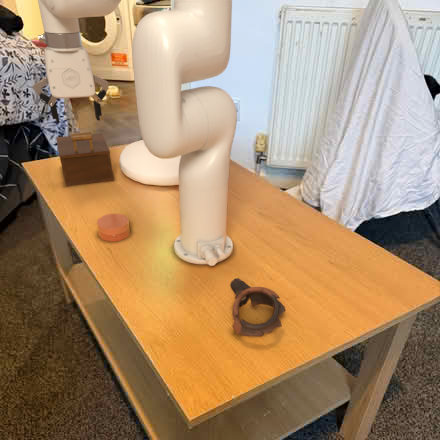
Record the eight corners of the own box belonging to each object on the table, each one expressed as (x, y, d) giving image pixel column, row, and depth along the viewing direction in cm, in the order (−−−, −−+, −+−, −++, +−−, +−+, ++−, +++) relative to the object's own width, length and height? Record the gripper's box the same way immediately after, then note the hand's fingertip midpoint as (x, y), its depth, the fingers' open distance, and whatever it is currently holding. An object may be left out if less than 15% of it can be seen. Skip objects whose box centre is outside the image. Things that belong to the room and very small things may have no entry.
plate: (229, 165, 111) (133, 181, 103) (227, 186, 116) (135, 203, 107) (190, 124, 129) (106, 134, 120) (190, 144, 134) (109, 155, 125)
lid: (110, 153, 108) (107, 133, 105) (60, 158, 104) (55, 138, 101) (102, 135, 118) (99, 117, 115) (56, 140, 115) (52, 120, 111)
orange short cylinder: (132, 238, 90) (131, 225, 88) (101, 243, 88) (98, 230, 86) (127, 223, 95) (125, 211, 93) (97, 228, 93) (94, 215, 91)
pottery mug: (296, 322, 72) (297, 306, 64) (257, 358, 70) (253, 346, 63) (250, 277, 76) (245, 257, 69) (212, 311, 75) (203, 294, 67)
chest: (113, 180, 113) (109, 152, 108) (66, 186, 110) (59, 157, 105) (106, 162, 123) (102, 136, 118) (62, 167, 120) (56, 140, 115)
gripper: (22, 44, 86) (42, 128, 97) (105, 43, 91) (115, 122, 102) (22, 38, 92) (40, 118, 103) (101, 37, 97) (110, 113, 108)
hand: (78, 120), depth 102 cm, fingers open, 9 cm apart
